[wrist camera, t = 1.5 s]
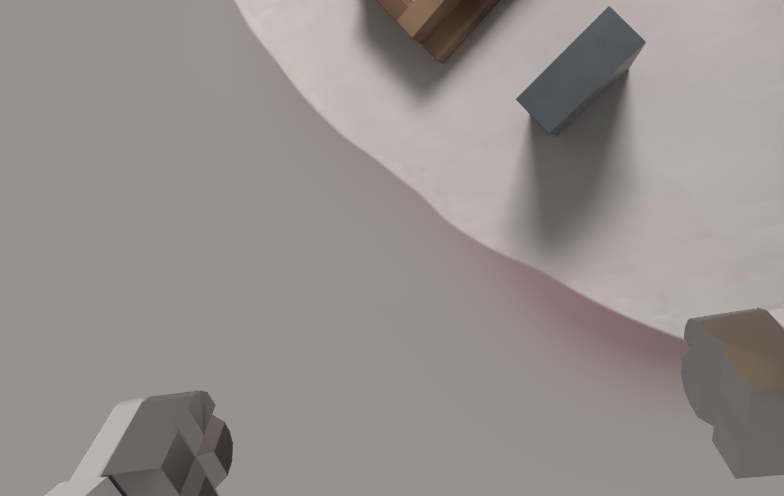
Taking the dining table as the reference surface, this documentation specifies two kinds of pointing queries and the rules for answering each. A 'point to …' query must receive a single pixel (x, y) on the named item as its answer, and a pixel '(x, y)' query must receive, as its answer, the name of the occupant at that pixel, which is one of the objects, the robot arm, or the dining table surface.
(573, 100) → the panel
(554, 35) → the dining table surface
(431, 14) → the tray
